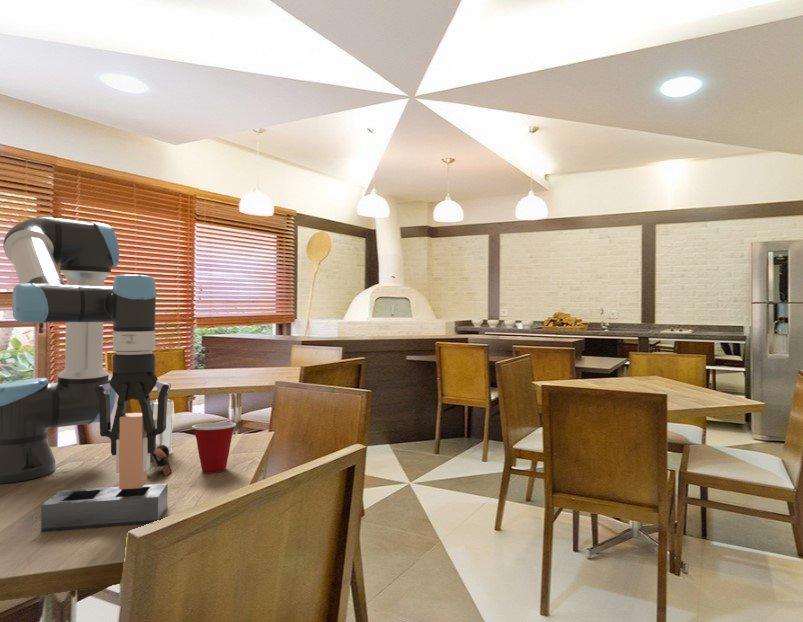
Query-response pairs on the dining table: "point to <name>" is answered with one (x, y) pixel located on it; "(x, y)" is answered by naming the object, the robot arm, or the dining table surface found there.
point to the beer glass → (166, 435)
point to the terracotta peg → (131, 451)
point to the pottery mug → (161, 458)
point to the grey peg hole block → (103, 507)
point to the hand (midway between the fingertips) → (133, 469)
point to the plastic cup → (214, 445)
